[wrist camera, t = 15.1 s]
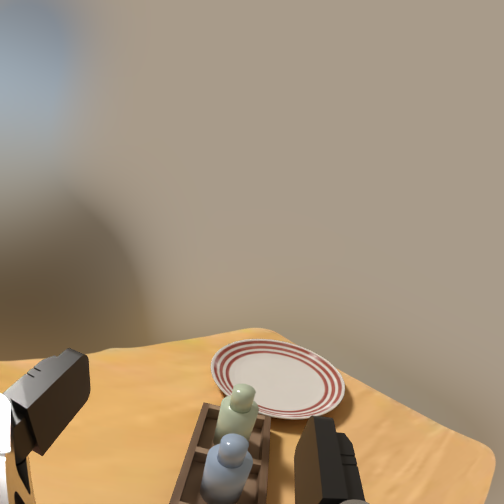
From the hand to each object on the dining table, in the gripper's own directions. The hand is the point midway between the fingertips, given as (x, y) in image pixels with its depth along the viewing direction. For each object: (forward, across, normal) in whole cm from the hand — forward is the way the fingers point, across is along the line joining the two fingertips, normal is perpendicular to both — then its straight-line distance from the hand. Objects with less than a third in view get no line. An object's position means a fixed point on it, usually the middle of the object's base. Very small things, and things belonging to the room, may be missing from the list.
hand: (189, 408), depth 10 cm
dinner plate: (+46, -10, +30) cm, 56 cm away
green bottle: (+26, -3, +29) cm, 39 cm away
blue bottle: (+16, -3, +29) cm, 34 cm away
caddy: (+21, -3, +30) cm, 37 cm away
